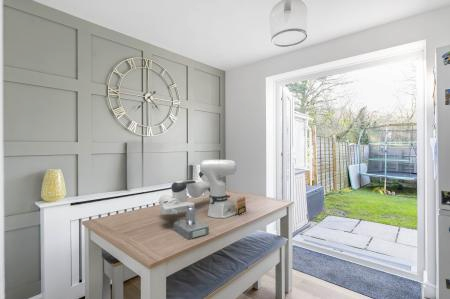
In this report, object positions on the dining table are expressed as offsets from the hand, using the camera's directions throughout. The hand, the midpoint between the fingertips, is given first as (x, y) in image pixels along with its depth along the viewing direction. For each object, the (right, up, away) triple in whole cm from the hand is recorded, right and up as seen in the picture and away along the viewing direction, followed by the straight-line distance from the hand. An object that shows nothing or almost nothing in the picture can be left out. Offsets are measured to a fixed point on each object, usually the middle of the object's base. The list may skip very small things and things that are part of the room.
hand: (184, 210), depth 138 cm
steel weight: (+4, -6, -4) cm, 8 cm away
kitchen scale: (+4, -11, -4) cm, 12 cm away
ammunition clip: (+35, -10, +31) cm, 48 cm away
